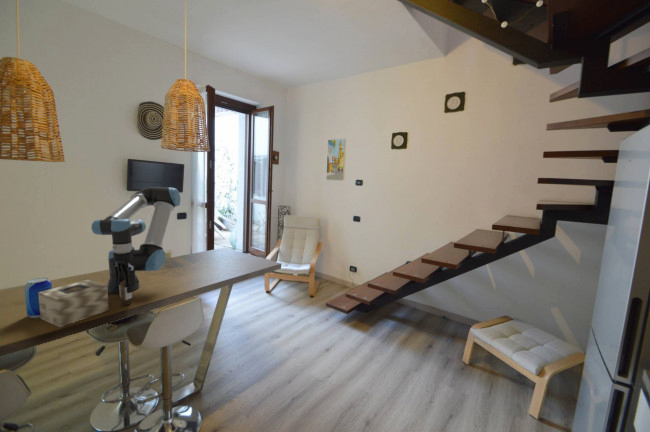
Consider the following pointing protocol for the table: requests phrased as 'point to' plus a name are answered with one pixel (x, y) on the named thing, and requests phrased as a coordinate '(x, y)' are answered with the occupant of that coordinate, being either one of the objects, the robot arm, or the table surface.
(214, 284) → the table surface
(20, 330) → the table surface
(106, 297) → the tissue box
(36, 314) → the beer can
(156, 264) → the robot arm
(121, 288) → the peg
